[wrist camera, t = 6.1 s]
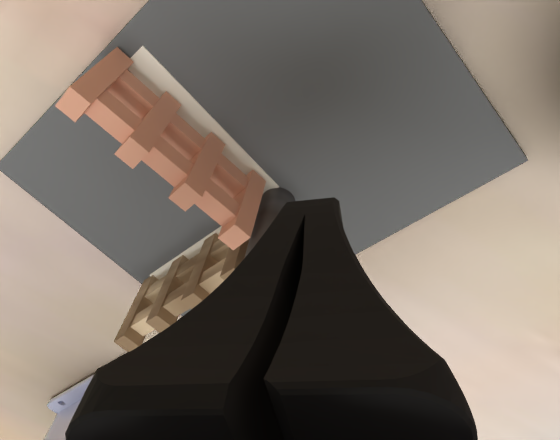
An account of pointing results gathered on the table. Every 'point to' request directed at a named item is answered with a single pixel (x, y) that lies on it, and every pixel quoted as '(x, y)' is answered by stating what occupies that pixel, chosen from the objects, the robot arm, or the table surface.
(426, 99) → the mat
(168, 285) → the fixed fence
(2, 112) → the table surface
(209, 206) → the fence panel
